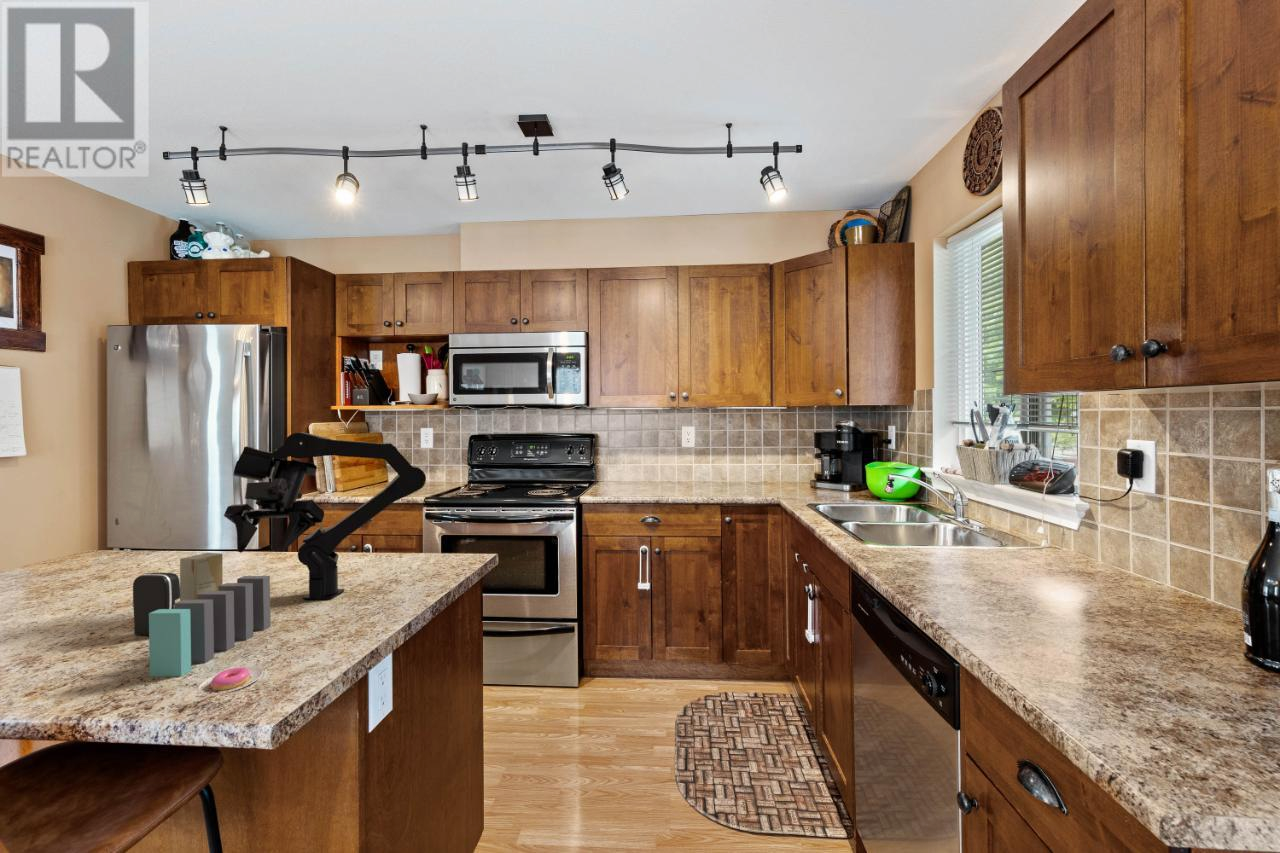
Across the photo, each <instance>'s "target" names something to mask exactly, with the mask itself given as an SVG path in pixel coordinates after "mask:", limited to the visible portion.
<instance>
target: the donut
mask: <svg viewBox="0 0 1280 853" xmlns="http://www.w3.org/2000/svg"><path fill="white" fill-rule="evenodd" d="M263 673H264V669H263V668H261V667H259V666H255V665H247V666H239V667H235V668H229V669H225V670H223V671H221V672H218V673H217V674H214V675H212V676H210V677H209V678H207V679H205V680H204V681H202V682H201V683H200V684H199V686H198V687H197V692H199V693H200V692H201V690H200V689H201V688H202V687H203V686H204V685H205V684H208V683H210V687H211V689H213V690H214V689H215V691H226V690H225V689H228V690H229V691H226V692H221V693H218V695H223V694H222V693H224V694H228V693H227V692H229V693H232V691H233V692H235V690H236V691H238V689H239V690H241V689H244V688H246V687H247V686H250V685H252V684H254V682H256V681H258V680H259V679H260V678H261V677H262V675H263ZM249 676H252V677H253V678H254V679H253V681H252V682H251V681H250V682H251V683H250V682H249V683H247V684H248V685H247V684H246V685H244V684H245V683H246V682H248V681H249V680H250V679H249ZM211 680H212V681H211ZM209 681H210V682H209ZM207 682H208V683H207ZM242 684H243V685H244V686H243V685H242ZM202 685H203V686H202ZM240 685H241V686H240ZM201 686H202V687H201ZM234 687H236V689H235V688H234ZM231 688H232V689H233V690H231Z"/></svg>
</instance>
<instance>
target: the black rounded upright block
mask: <svg viewBox="0 0 1280 853" xmlns="http://www.w3.org/2000/svg"><path fill="white" fill-rule="evenodd" d="M178 599H179V600H180V577H179V576H178V575H177V574H176V573H173V572H150V573H146V574H142V575H138V576H137V577H136V578H134V580H133V583H132V605H133V607H132V609H133V628H134V631H133V635H135V636H147V635H149V613H151V612H154V611H156V610H159V609H174V603H176V601H177V600H178Z"/></svg>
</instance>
